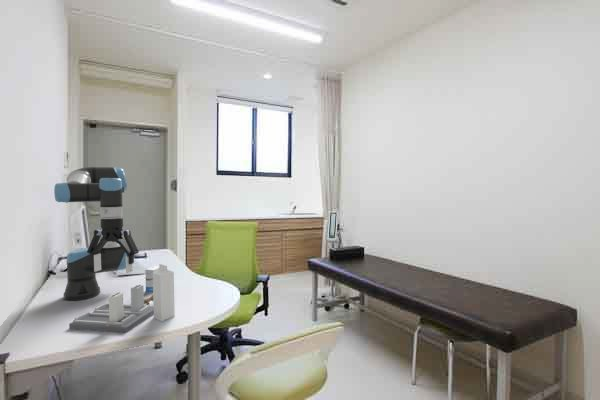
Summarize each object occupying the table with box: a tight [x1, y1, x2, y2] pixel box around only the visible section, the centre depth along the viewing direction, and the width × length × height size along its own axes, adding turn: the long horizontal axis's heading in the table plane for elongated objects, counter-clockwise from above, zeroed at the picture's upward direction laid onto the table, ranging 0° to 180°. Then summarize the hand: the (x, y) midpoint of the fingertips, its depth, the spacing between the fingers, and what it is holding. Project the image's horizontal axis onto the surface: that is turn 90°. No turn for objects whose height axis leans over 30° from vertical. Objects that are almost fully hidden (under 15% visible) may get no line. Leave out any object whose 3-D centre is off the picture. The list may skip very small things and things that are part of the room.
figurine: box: [129, 294, 153, 306], centre depth 142 cm, size 4×4×15 cm
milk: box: [152, 263, 176, 322], centre depth 130 cm, size 6×6×22 cm
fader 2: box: [130, 284, 145, 312], centre depth 131 cm, size 3×4×10 cm
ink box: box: [144, 265, 159, 293], centre depth 165 cm, size 8×5×12 cm, turn 168°
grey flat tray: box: [68, 302, 154, 333], centre depth 127 cm, size 24×20×3 cm
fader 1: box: [108, 291, 124, 322], centre depth 122 cm, size 3×4×10 cm
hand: (113, 271), depth 122 cm, fingers open, 13 cm apart
